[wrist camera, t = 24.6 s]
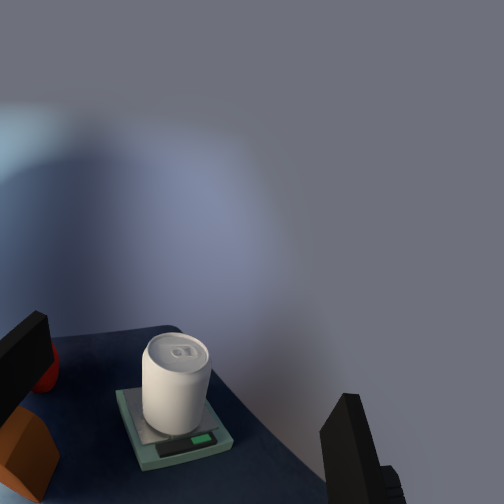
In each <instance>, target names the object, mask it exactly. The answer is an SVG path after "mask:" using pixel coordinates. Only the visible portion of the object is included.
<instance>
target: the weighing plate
mask: <svg viewBox="0 0 504 504" xmlns="http://www.w3.org/2000/svg"><path fill="white" fill-rule="evenodd" d="M123 394H124V397H125V400H126V403H127V406H128V409H129V412H130V415H131V418H132V421H133V423H134V426H135V429H136V431H137V434H138V436H139V439H140V441H141V444H142V446H147V445H153V444H158V443H163V442H168V441H173V440H178V439H182V438H187V437H191V436H195V435H199V434H203V433H207V432H211V431H214V430H218V429H219V426H218V424H217V423H216V421H215V420H214V418H213V417H212V415H211V413H210V412H209V410H208V408H207V407H206V405H205V404H204V408H203V413H202V418H201V421H200V423H199V425H198V426H197V427H196V428H195V429H194V430H192V431H191V432H188V433H186V434H181V435H170V434H166V433H162V432H160V431H158V430H156V429H154V428H153V427H152V426H151V425H150V424H149V423H148V422H147V421H146V419H145V417H144V415H143V403H142V387H140V388H132V389H123Z"/></svg>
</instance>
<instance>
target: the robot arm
mask: <svg viewBox="0 0 504 504" xmlns="http://www.w3.org/2000/svg"><path fill="white" fill-rule="evenodd" d="M54 362H55V357H54V353H53V347H52V342H51V336H50V330H49V324H48V318H47V315H45V314H43V313H40V312H38V311H36V310H35V311H34V312H33V313H32V314H30V315H29V316H28V317H27V318H26V319H24V320H23V321H22V322H21V323H20V324H19V325H17V326H16V327H15V328H14V329H13V330H11V331H10V332H9V333H8V334H7V335H6V336H5V337H3V338H2V339H1V340H0V428H1V427H2V426H3V424H4V423H5V422H6V421H7V419H8V418H9V417H10V415H11V414H12V413H13V412H14V410H15V409H16V408H17V406H18V405H19V404H20V403H21V401H22V400H23V399H24V398H25V396H26V395H27V394H28V393H29V392H30V390H31V389H32V388H33V387H34V386H35V384H36V383H37V382H38V381H39V380H40V378H41V377H42V376H43V375H44V374H45V372H46V371H47V370H48V369H49V368H50V367H51V365H52V364H53V363H54ZM320 439H321V447H322V454H323V462H324V469H325V478H326V486H327V495H328V503H329V504H406V501H405V497H404V496H403V495H404V493H403V490H402V488H401V483H400V480H399V476H398V474H397V473H396V471H395V470H394V469H393V468H392V466H391V465H389V466H380V464H379V460H378V457H377V453H376V449H375V446H374V442H373V439H372V435H371V432H370V428H369V425H368V422H367V418H366V415H365V412H364V409H363V405H362V403H361V399H360V396H359V394H348V393H343V394H342V396H341V397H340V399H339V401H338V403H337V404H336V406H335V408H334V409H333V411H332V412H331V414H330V416H329V417H328V419H327V420H326V422H325V424H324V425H323V427H322V428H321V430H320Z"/></svg>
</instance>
